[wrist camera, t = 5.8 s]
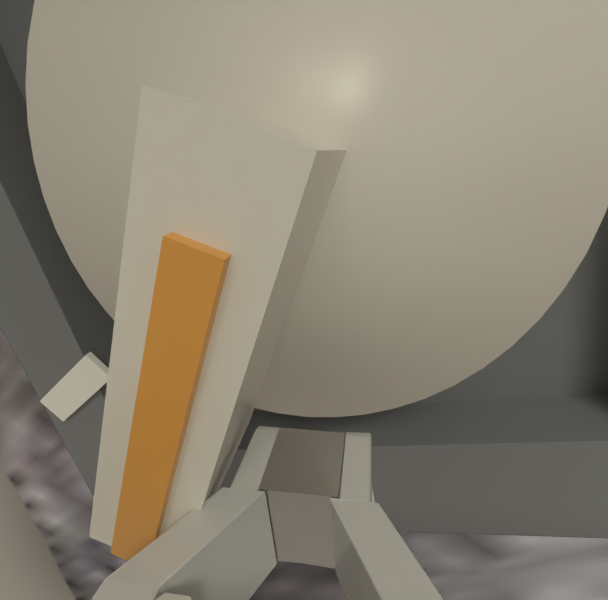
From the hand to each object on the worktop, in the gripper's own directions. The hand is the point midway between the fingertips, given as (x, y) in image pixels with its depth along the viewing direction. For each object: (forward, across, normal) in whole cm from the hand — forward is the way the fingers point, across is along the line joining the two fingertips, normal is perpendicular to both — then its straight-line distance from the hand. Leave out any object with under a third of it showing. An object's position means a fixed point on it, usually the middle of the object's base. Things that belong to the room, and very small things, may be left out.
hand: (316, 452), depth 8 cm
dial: (+4, +1, -5) cm, 6 cm away
